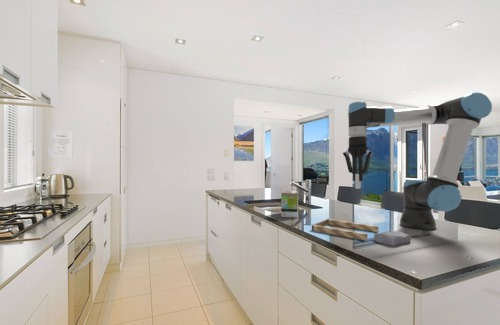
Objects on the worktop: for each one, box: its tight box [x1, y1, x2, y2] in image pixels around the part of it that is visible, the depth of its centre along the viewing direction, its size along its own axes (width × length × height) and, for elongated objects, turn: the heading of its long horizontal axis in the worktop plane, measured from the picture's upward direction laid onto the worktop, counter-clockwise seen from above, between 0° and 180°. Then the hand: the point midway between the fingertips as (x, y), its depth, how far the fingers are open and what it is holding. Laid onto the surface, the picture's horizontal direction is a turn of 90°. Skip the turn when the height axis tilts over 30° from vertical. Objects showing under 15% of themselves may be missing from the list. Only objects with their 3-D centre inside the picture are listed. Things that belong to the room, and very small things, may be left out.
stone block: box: [373, 230, 412, 247], centre depth 101 cm, size 12×5×10 cm
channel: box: [311, 218, 379, 241], centre depth 117 cm, size 24×18×2 cm
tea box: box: [280, 190, 299, 219], centre depth 155 cm, size 15×10×15 cm
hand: (358, 188), depth 113 cm, fingers closed
